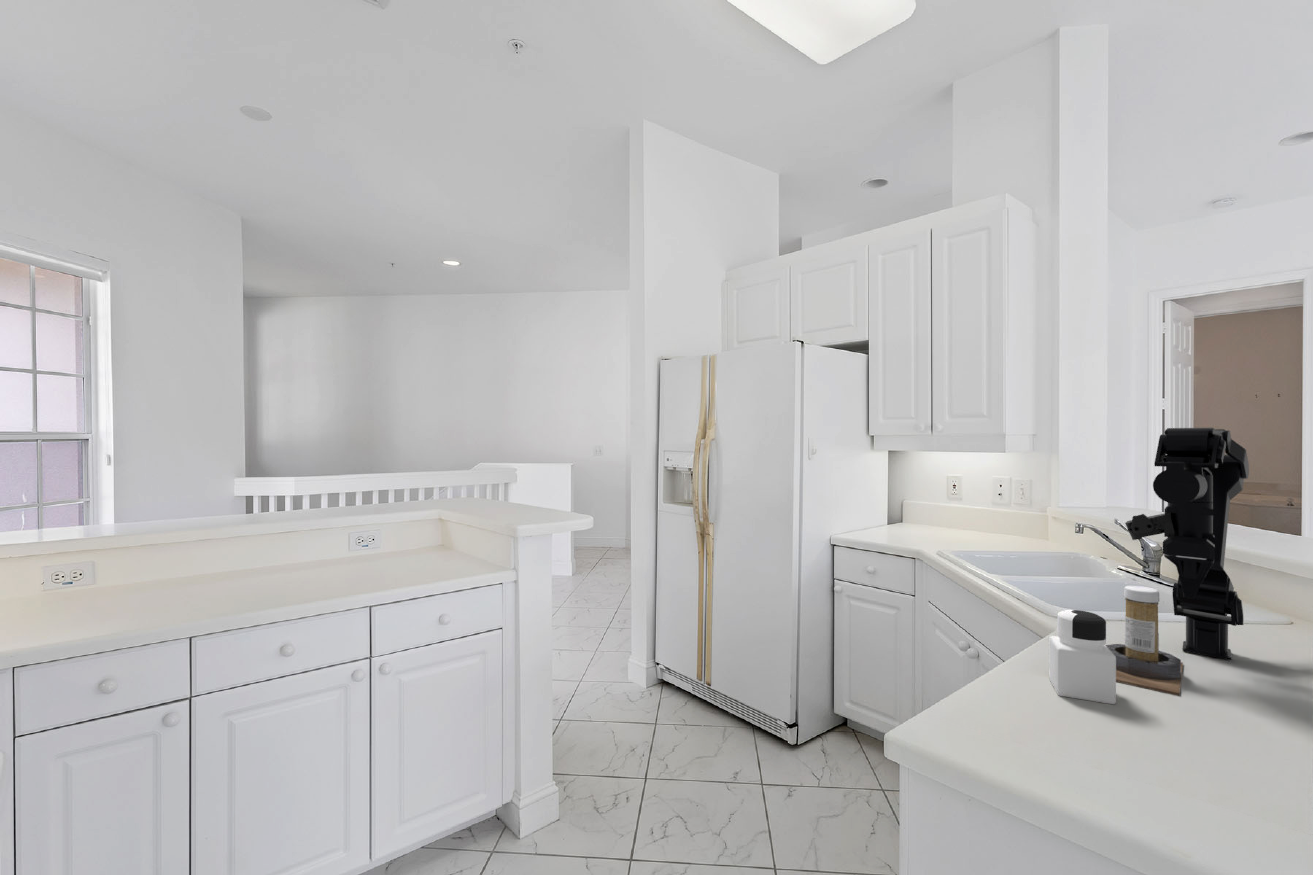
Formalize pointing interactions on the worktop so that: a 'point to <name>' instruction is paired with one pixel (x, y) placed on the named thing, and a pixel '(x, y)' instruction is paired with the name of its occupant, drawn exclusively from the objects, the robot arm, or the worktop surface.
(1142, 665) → the iron collar
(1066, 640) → the medicine bottle
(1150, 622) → the sprinkles bottle
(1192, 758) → the worktop surface
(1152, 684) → the walnut board
